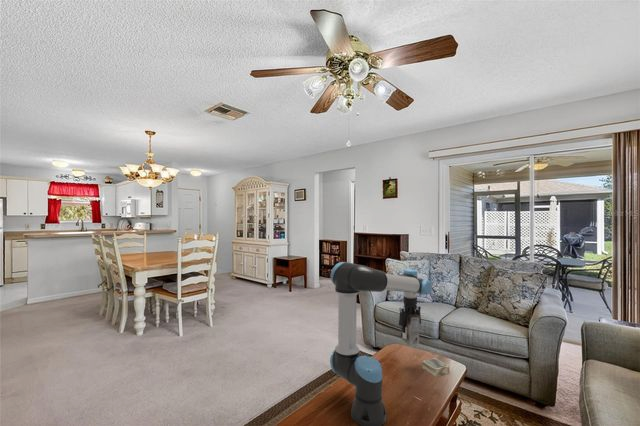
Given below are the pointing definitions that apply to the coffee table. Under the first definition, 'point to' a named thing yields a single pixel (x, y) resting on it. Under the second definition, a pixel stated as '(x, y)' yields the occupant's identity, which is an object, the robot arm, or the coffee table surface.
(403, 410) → the coffee table surface
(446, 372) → the square framed mirror
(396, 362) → the coffee table surface
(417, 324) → the coffee box
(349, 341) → the robot arm
